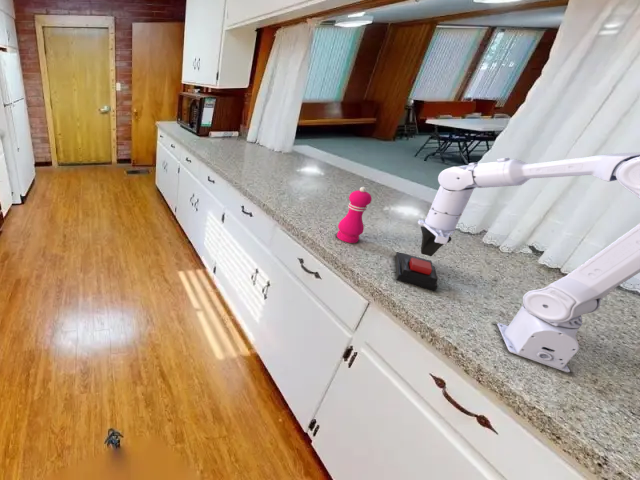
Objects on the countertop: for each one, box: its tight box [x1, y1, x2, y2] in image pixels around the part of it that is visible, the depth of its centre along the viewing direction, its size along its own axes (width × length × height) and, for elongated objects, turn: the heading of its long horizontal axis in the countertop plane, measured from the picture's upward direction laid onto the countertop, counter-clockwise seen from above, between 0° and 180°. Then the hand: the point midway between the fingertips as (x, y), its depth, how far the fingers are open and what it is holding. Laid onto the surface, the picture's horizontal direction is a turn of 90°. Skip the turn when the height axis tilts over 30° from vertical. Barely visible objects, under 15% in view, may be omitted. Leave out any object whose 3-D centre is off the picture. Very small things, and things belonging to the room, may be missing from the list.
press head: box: [409, 258, 432, 275], centre depth 83 cm, size 4×4×2 cm
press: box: [394, 251, 439, 292], centre depth 86 cm, size 14×8×4 cm, turn 142°
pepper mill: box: [336, 186, 373, 244], centre depth 101 cm, size 7×7×20 cm
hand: (426, 254), depth 81 cm, fingers closed
